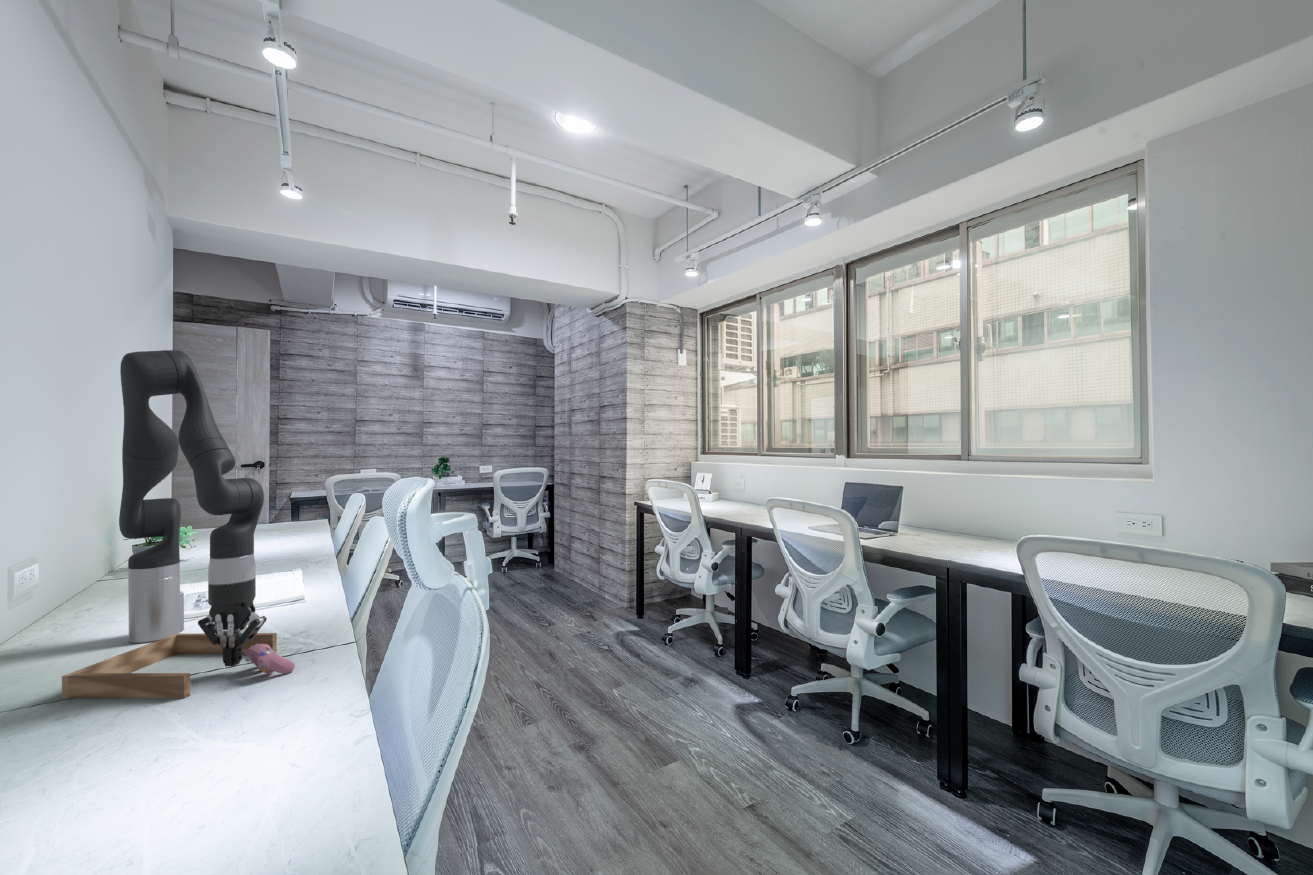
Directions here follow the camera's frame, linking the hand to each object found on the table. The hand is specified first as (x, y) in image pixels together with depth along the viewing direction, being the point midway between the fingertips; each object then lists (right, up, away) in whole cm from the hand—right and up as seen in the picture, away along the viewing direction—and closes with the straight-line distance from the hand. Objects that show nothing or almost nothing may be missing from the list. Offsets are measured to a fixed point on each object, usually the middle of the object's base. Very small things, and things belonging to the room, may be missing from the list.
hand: (232, 664), depth 109 cm
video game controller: (+7, -2, 0) cm, 8 cm away
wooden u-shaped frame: (-11, -2, +1) cm, 11 cm away
